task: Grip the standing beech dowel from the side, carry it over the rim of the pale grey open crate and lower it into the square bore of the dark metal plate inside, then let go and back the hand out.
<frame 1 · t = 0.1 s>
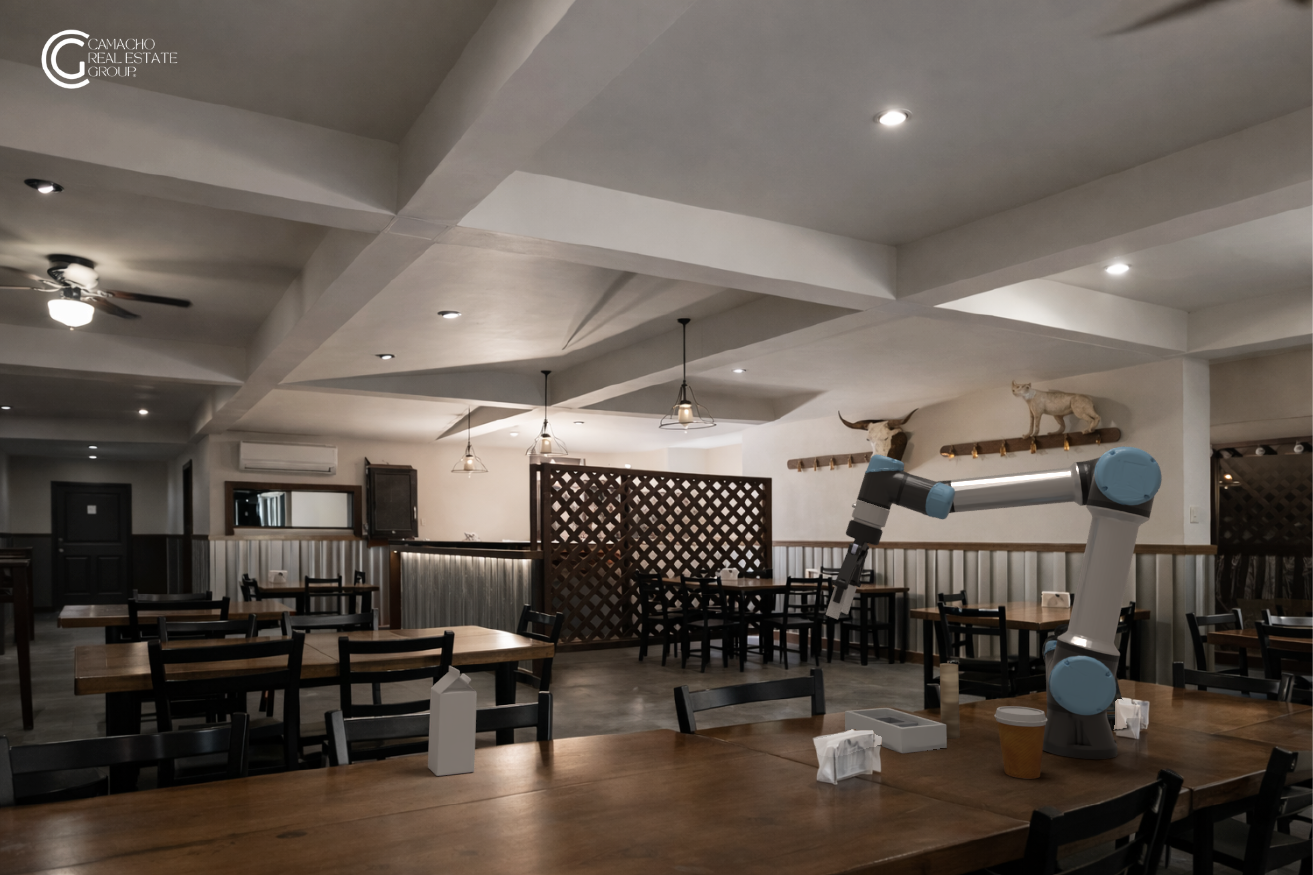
hand: (837, 614, 201), 28 cm above the table, tool tilted 20°, fingers open, 13 cm apart
disposable coffee cup: (1022, 775, 174), on the table
dowel: (950, 736, 206), on the table
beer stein: (1084, 723, 223), on the table
milk carton: (450, 771, 172), on the table
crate: (894, 740, 201), on the table
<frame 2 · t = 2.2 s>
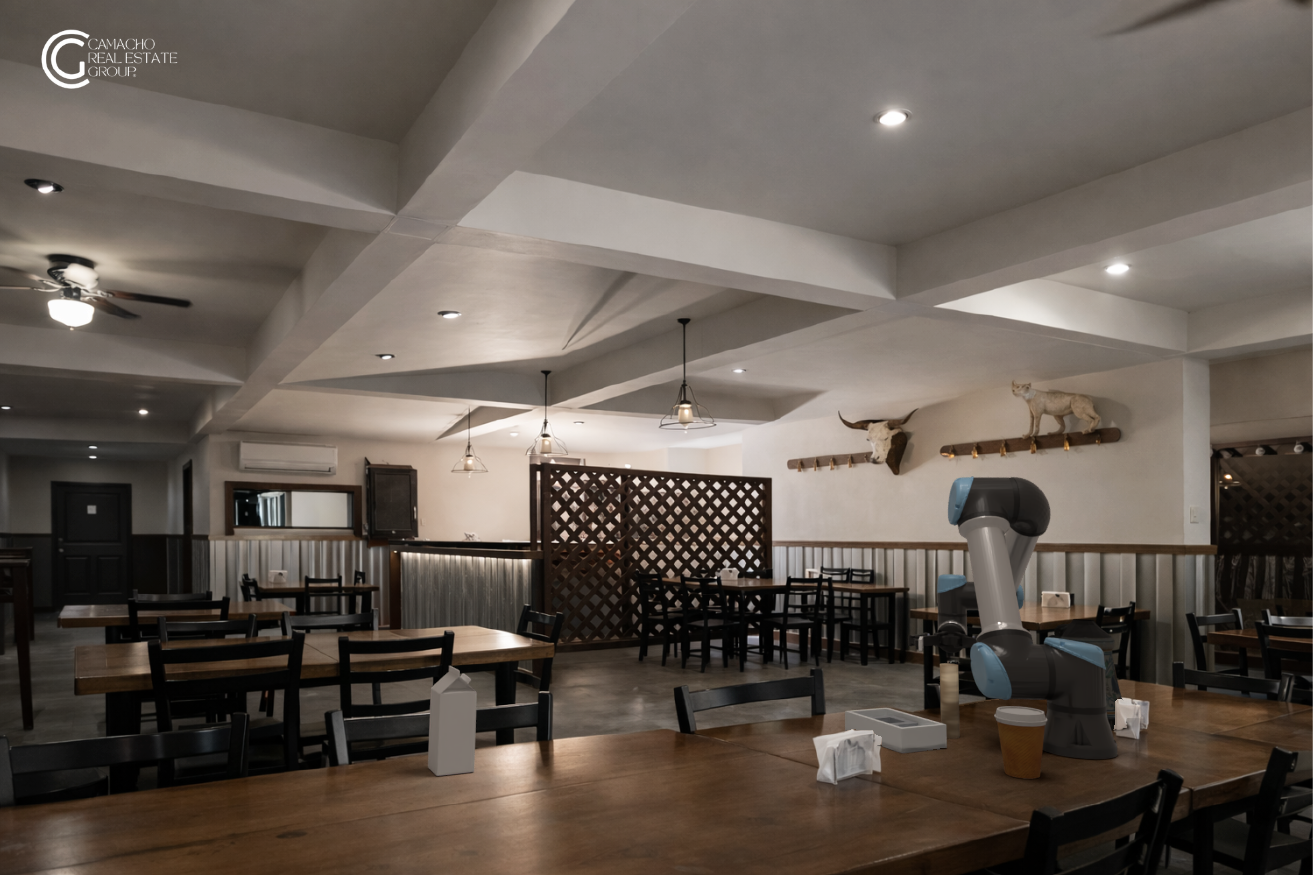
hand: (949, 646, 217), 19 cm above the table, tool horizontal, fingers open, 13 cm apart
nothing on the table moved.
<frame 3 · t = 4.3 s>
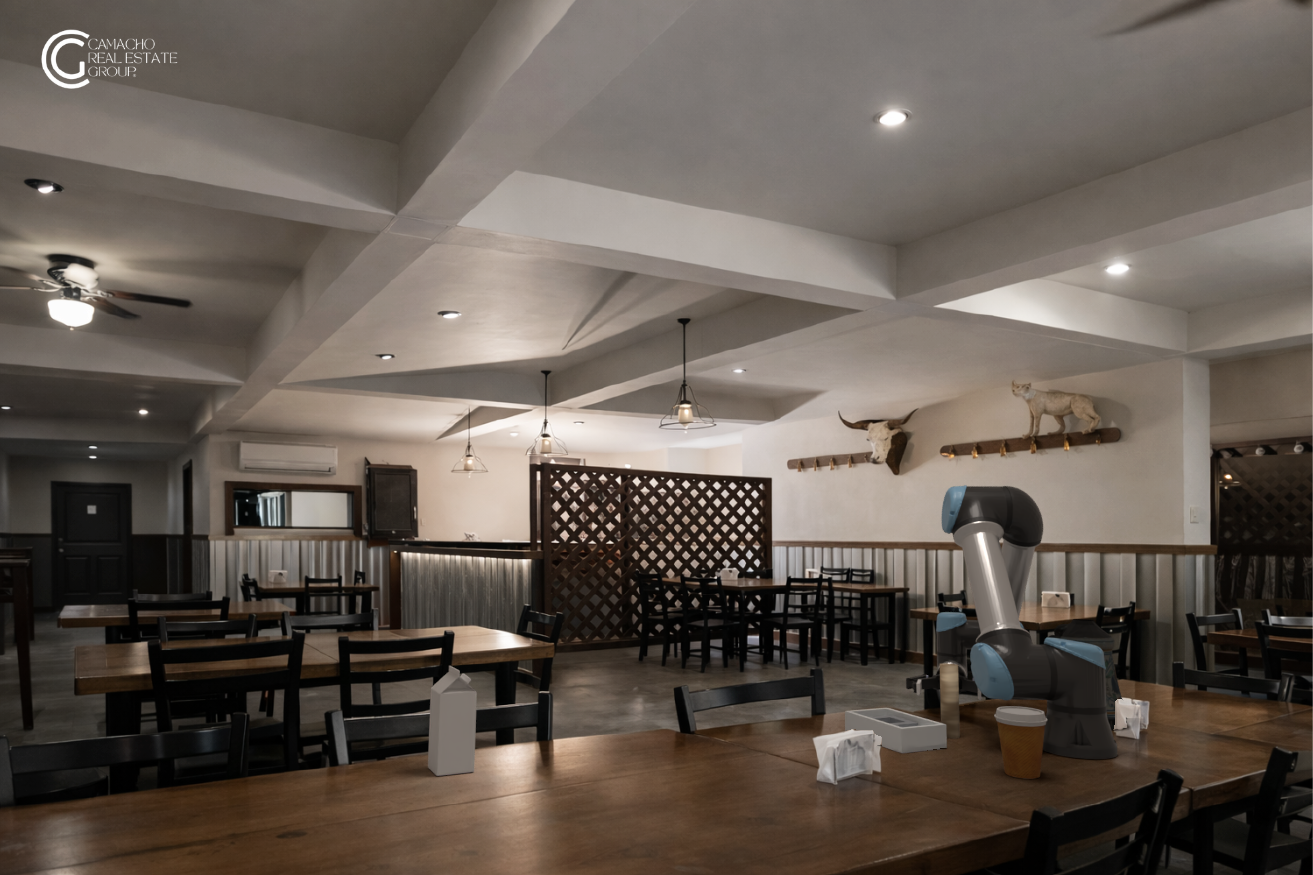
hand: (948, 691, 211), 9 cm above the table, tool horizontal, fingers open, 13 cm apart
nothing on the table moved.
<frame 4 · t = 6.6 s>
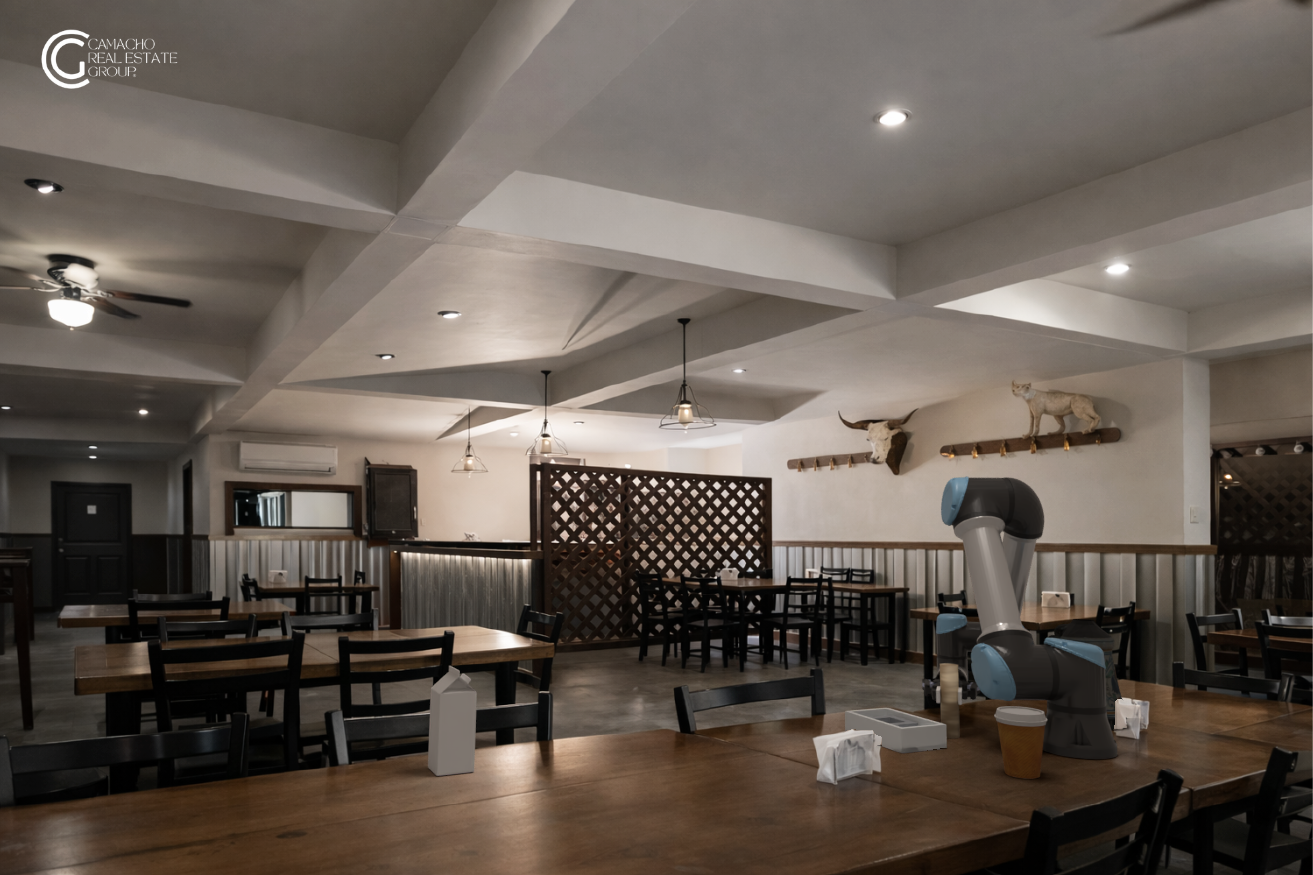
hand: (948, 697, 202), 10 cm above the table, tool horizontal, fingers closed on dowel, 4 cm apart
dowel: (950, 736, 206), on the table, touching gripper
everything else where it was.
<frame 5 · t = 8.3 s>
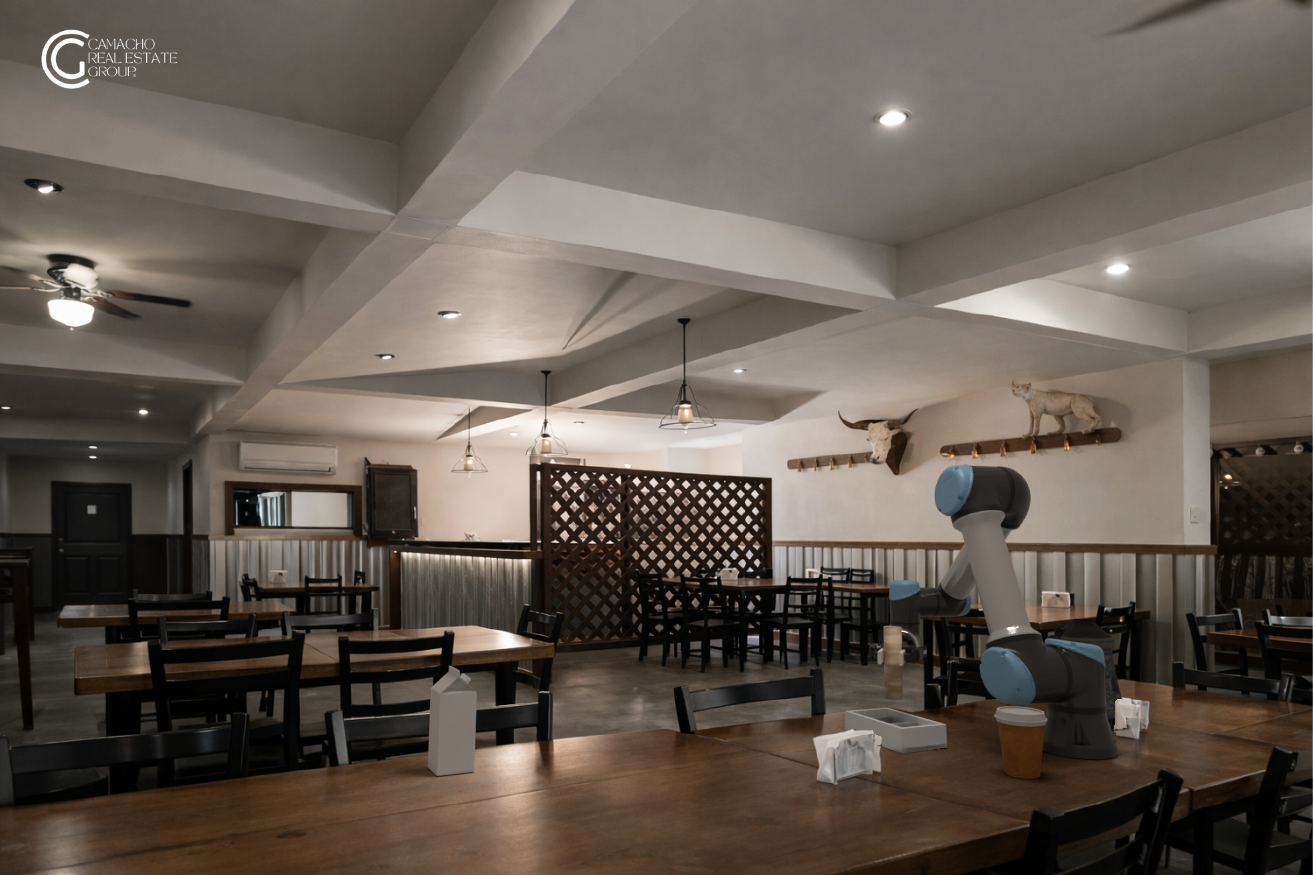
hand: (890, 658, 201), 18 cm above the table, tool horizontal, fingers closed on dowel, 4 cm apart
dowel: (893, 698, 205), point 9 cm above the table, touching gripper
everything else where it was.
when the fingers open (11 cm above the table, at t = 10.2 s): dowel stays where it is, resting on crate.
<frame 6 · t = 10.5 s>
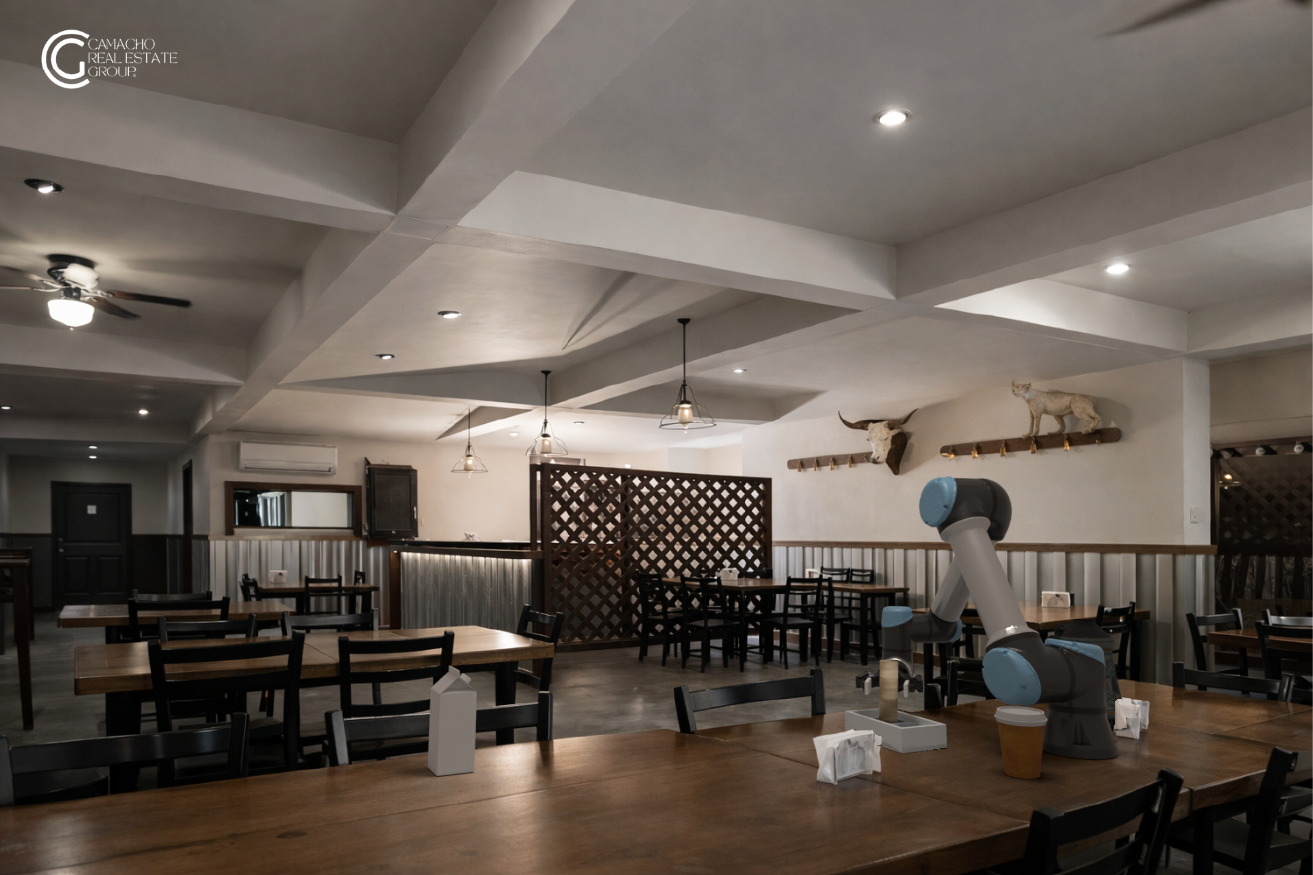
hand: (885, 689, 199), 11 cm above the table, tool horizontal, fingers open, 8 cm apart
dowel: (888, 733, 203), point 1 cm above the table, touching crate
everything else where it was.
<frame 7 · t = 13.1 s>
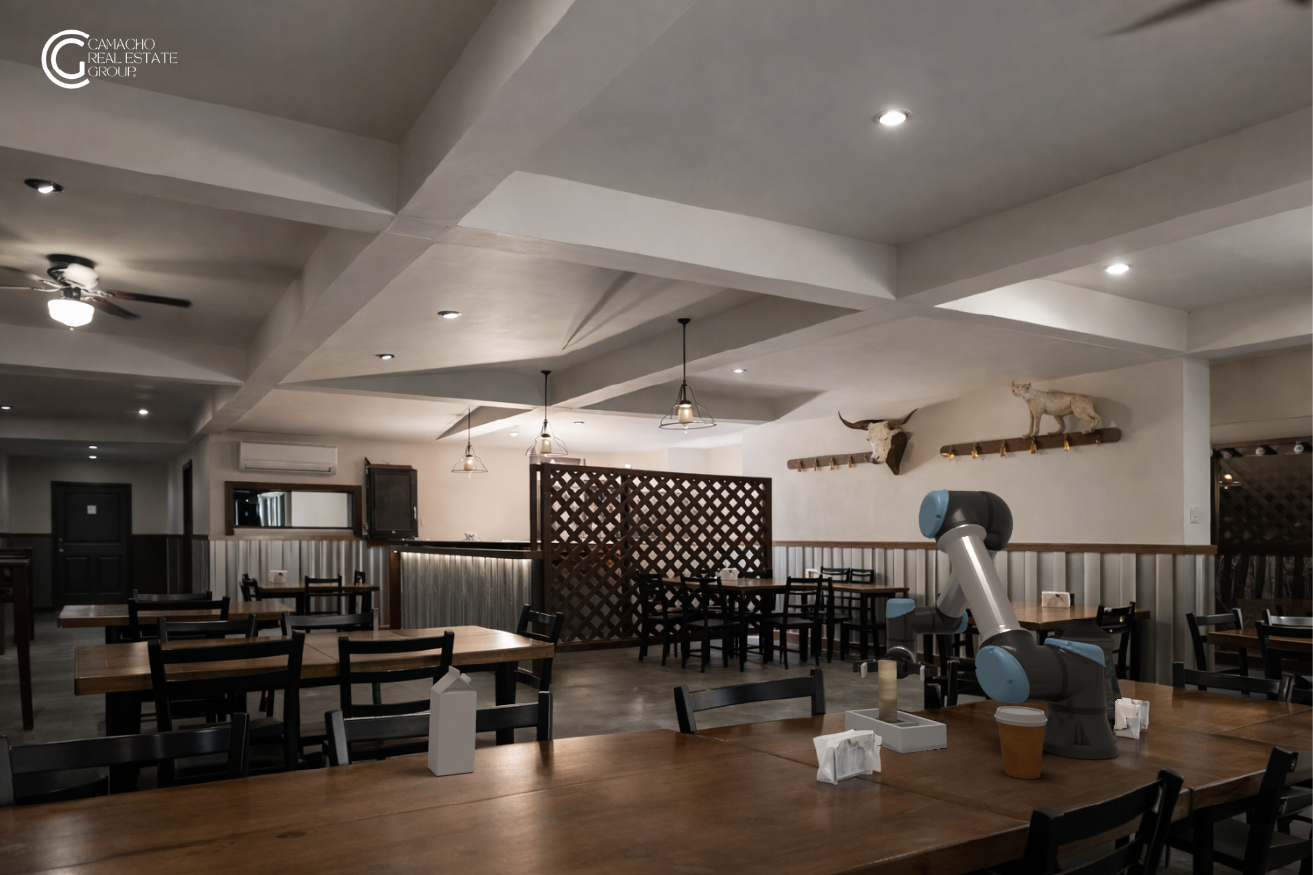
hand: (891, 673, 214), 13 cm above the table, tool horizontal, fingers open, 13 cm apart
nothing on the table moved.
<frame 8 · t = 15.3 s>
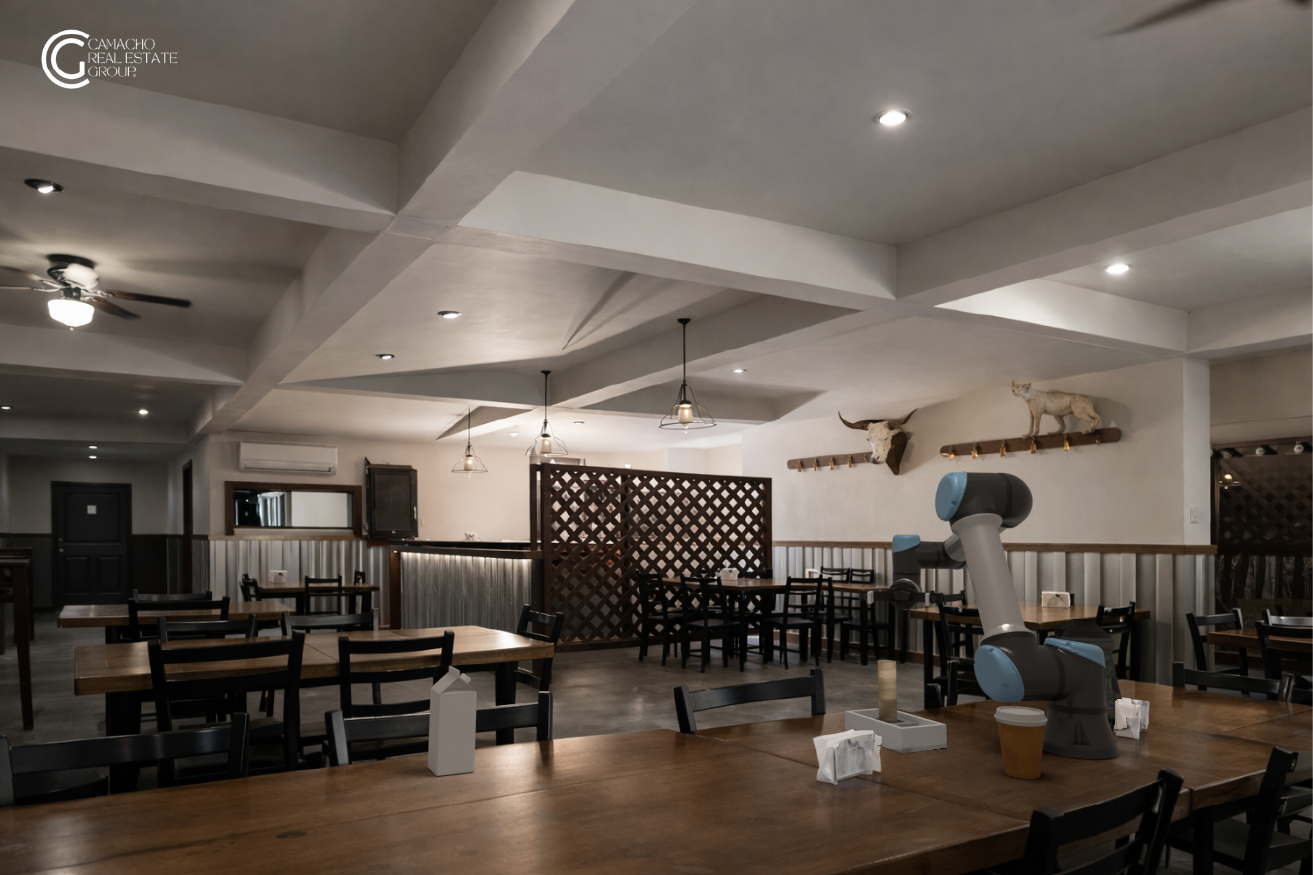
hand: (897, 599, 219), 30 cm above the table, tool horizontal, fingers open, 13 cm apart
nothing on the table moved.
at the end: dowel 0.1 cm from the target spot on the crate, point 1.0 cm above the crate's base; dowel tilted 0°; the gripper is holding nothing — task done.
